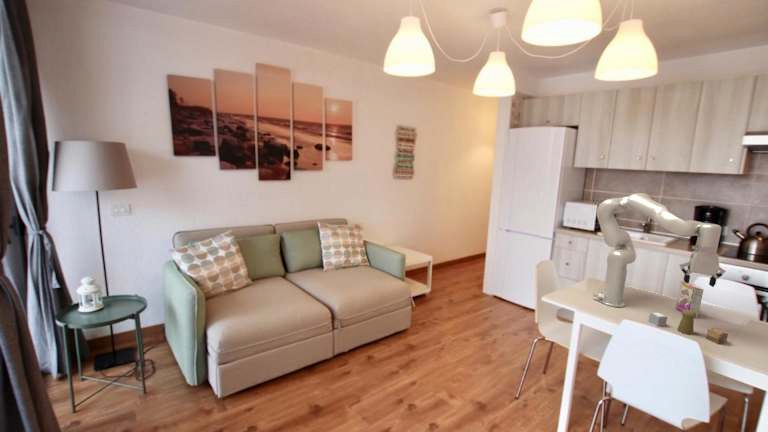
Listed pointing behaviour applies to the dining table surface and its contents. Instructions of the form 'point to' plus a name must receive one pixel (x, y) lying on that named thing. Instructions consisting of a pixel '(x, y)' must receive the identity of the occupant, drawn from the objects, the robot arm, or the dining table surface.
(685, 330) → the cork
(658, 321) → the slate grey block
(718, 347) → the dining table surface
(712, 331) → the light brown cube
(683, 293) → the candy bar box
